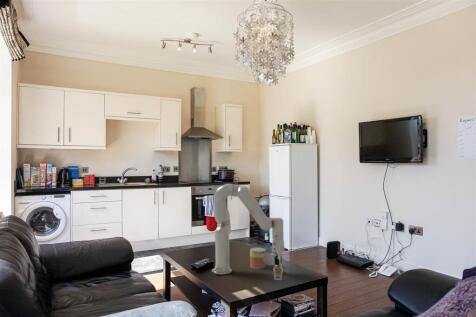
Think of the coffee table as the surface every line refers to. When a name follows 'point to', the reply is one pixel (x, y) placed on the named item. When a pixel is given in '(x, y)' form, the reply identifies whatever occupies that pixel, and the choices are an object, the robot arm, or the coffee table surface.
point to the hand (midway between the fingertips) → (278, 263)
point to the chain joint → (278, 273)
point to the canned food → (257, 258)
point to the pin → (279, 261)
